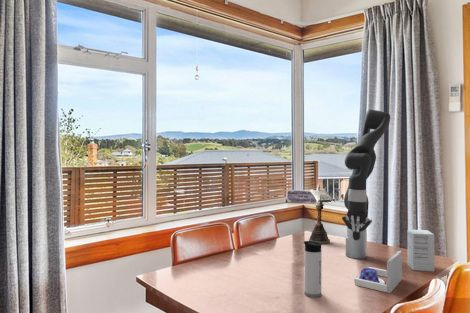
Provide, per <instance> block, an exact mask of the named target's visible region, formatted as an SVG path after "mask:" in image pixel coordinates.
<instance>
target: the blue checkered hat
mask: <svg viewBox="0 0 470 313" xmlns="http://www.w3.org/2000/svg"><path fill="white" fill-rule="evenodd" d="M372 268H373V267H372ZM372 268H368V267H364V268H362V269H361V270H360V274H359V275H357V276H354V277H353V280H354V281H355V278H359V279H363V280H368V281H372V282H377V283H381V284H385V283H386V282H385V281H384V280H383V279H382V278H380V277H379V275H377V271H376V270H374V269H372ZM379 281H380V282H379Z"/></svg>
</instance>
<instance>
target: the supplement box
mask: <svg viewBox="0 0 470 313" xmlns="http://www.w3.org/2000/svg"><path fill="white" fill-rule="evenodd" d="M406 264H407V265H408V266H409V267H410V269H411V270H412V271H422V272H435V234H434V233H433V232H431V231H430V230H427V229H407V262H406Z"/></svg>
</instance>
